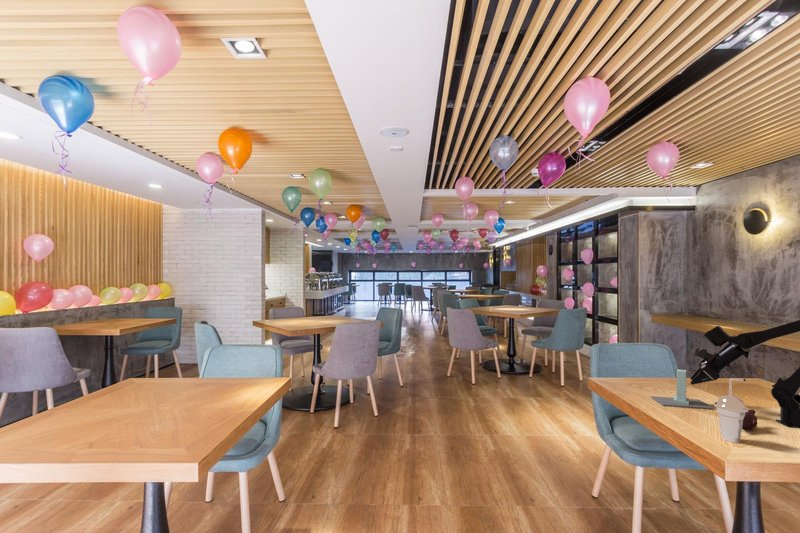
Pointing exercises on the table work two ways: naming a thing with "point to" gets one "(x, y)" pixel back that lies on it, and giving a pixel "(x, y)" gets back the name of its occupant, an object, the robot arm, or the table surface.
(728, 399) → the cup with straw
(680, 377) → the number stand
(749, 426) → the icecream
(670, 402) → the mat
